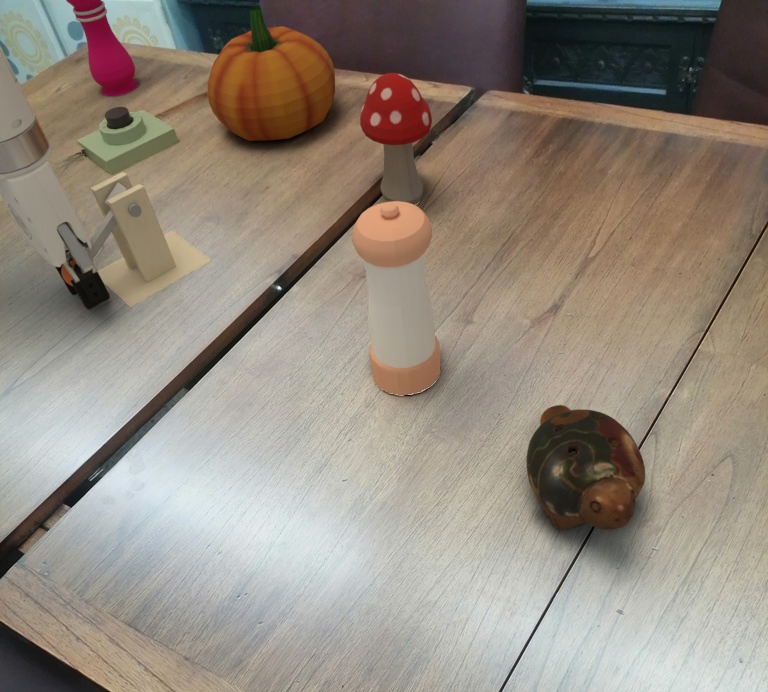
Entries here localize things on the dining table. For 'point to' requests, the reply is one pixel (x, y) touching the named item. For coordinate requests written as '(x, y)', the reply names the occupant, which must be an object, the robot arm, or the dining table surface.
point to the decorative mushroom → (397, 133)
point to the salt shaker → (398, 296)
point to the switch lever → (98, 233)
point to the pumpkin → (271, 82)
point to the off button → (118, 118)
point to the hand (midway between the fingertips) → (90, 294)
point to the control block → (127, 142)
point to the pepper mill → (104, 49)
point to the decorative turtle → (584, 469)
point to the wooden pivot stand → (142, 245)
